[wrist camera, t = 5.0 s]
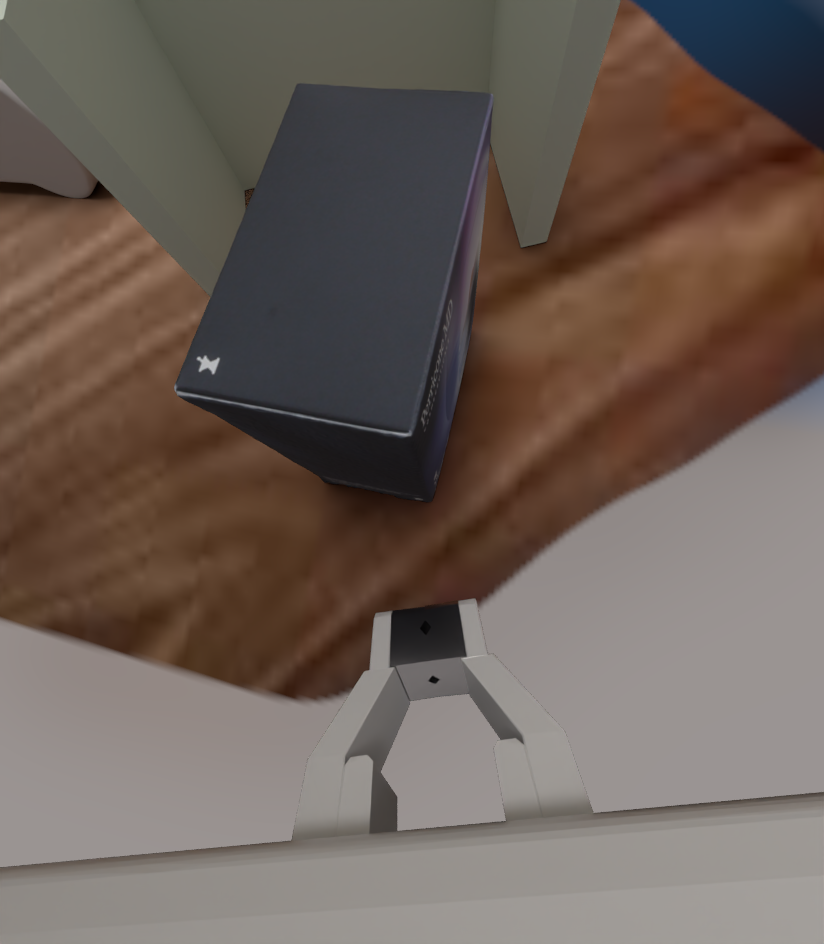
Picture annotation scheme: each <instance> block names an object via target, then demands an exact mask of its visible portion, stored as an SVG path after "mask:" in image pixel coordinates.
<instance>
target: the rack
mask: <svg viewBox="0 0 824 944" xmlns="http://www.w3.org/2000/svg"><path fill="white" fill-rule="evenodd" d="M619 4H620V0H0V79H1V80H2V81H3V82H4V83H5V84H6V85H7V86H8V87H9V88H10V89H11V90H12V91H13V92H14V93H15V94H16V95H17V96H18V97H19V98H20V99H21V100H22V101H23V102H24V104H25V105H26V106H27V107H28V108H29V109H30V110H31V111H32V112H33V113H34V114H35V115H36V116H37V117H38V118H39V119H40V120H41V121H42V122H43V123H44V124H45V125H46V126H47V127H48V128H49V129H50V131H51V132H52V133H53V134H54V135H55V136H56V137H57V138H58V139H59V140H60V141H61V142H62V143H63V144H64V145H65V146H66V147H67V148H68V149H69V150H70V151H71V152H72V153H73V154H74V155H75V157H76V158H77V159H78V160H79V161H80V162H81V163H82V164H83V165H84V166H85V167H86V168H87V169H88V170H89V171H90V172H91V173H92V174H93V175H94V176H95V177H96V178H97V179H98V180H99V181H100V182H101V184H102V185H103V186H104V187H105V188H106V189H107V190H108V191H109V192H110V193H111V194H112V195H113V196H114V197H115V198H116V199H117V200H118V201H119V202H120V203H121V204H122V205H123V206H124V207H125V208H126V210H127V211H128V212H129V213H130V214H131V215H132V216H133V217H134V218H135V219H136V220H137V221H138V222H139V223H140V224H141V225H142V226H143V227H144V228H145V229H146V230H147V231H148V232H149V233H150V234H151V235H152V237H153V238H154V239H155V240H156V241H157V242H158V243H159V244H160V245H161V246H162V247H163V248H164V249H165V250H166V251H167V252H168V253H169V254H170V255H171V256H172V257H173V258H174V259H175V260H176V261H177V262H178V264H179V265H180V266H181V267H182V268H183V269H184V270H185V271H186V272H187V273H188V274H189V275H190V276H191V277H192V278H193V279H194V280H195V281H196V282H197V283H198V284H199V285H200V286H201V287H202V288H203V290H204V291H205V292H206V293H207V294H208V295H209V296H210V297H211V295H212V293H213V290H214V287H215V285H216V282H217V280H218V277H219V275H220V273H221V270H222V268H223V266H224V263H225V261H226V258H227V256H228V253H229V251H230V248H231V246H232V243H233V241H234V238H235V236H236V233H237V230H238V228H239V226H240V223H241V221H242V219H243V216H244V213H245V211H246V208H245V190H248V189H252V188H255V187H256V184H257V182H258V180H259V177H260V175H261V172H262V170H263V167H264V165H265V162H266V160H267V157H268V154H269V152H270V150H271V147H272V145H273V143H274V140H275V137H276V135H277V132H278V130H279V127H280V125H281V122H282V120H283V117H284V114H285V112H286V109H287V107H288V105H289V102H290V100H291V97H292V94H293V92H294V90H295V87H296V85H297V84H299V83H305V84H322V85H335V86H351V87H365V88H381V89H411V90H415V89H424V90H446V91H469V92H485V93H491V94H493V97H494V102H493V111H492V123H491V139H490V144H491V148H492V151H493V155H494V158H495V161H496V165H497V168H498V172H499V175H500V178H501V182H502V185H503V189H504V192H505V195H506V199H507V202H508V206H509V209H510V212H511V216H512V219H513V222H514V226H515V229H516V233H517V236H518V239H519V243H520V246H521V248H522V247H526V246H530V245H535V244H539V243H543V242H547V238H548V235H549V232H550V229H551V225H552V222H553V219H554V216H555V212H556V209H557V206H558V203H559V199H560V196H561V193H562V190H563V186H564V183H565V180H566V176H567V173H568V170H569V167H570V163H571V160H572V157H573V154H574V150H575V147H576V144H577V141H578V137H579V134H580V131H581V128H582V124H583V121H584V118H585V115H586V111H587V108H588V105H589V101H590V98H591V95H592V92H593V88H594V85H595V82H596V79H597V75H598V72H599V69H600V66H601V62H602V59H603V56H604V53H605V49H606V46H607V43H608V39H609V36H610V33H611V30H612V26H613V23H614V20H615V17H616V13H617V10H618V7H619Z"/></svg>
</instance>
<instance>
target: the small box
mask: <svg viewBox="0 0 824 944" xmlns="http://www.w3.org/2000/svg"><path fill="white" fill-rule="evenodd" d="M493 102H494V97H493V94H491V93H485V92H469V91H446V90H424V89H415V90H411V89H381V88H365V87H351V86H335V85H322V84H305V83H299V84H297V85H296V87H295V90H294V92H293V94H292V97H291V100H290V102H289V105H288V107H287V109H286V112H285V114H284V117H283V120H282V122H281V125H280V127H279V130H278V132H277V135H276V137H275V140H274V143H273V145H272V147H271V150H270V152H269V154H268V157H267V160H266V162H265V165H264V167H263V170H262V172H261V175H260V177H259V180H258V182H257V184H256V187H255V189H254V192H253V194H252V196H251V198H250V201H249V204H248V206H247V208H246V211H245V213H244V216H243V219H242V221H241V223H240V226H239V228H238V230H237V233H236V236H235V238H234V241H233V243H232V246H231V248H230V251H229V253H228V256H227V258H226V261H225V263H224V266H223V268H222V270H221V273H220V275H219V277H218V280H217V282H216V285H215V287H214V290H213V293H212V295H211V298H210V300H209V302H208V305H207V307H206V310H205V312H204V315H203V317H202V319H201V322H200V324H199V327H198V330H197V332H196V334H195V336H194V339H193V341H192V344H191V346H190V349H189V351H188V354H187V356H186V359H185V361H184V363H183V366H182V368H181V371H180V374H179V376H178V378H177V381H176V383H175V387H174V389H175V392H176V393H177V395H178V396H179V397H181V398H182V399H184V400H185V401H187V402H189V403H192V404H194V405H196V406H198V407H200V408H202V409H204V410H206V411H208V412H211V413H213V414H215V415H217V416H218V417H220V418H221V419H223V420H225V421H227V422H228V423H230V424H231V425H233V426H235V427H237V428H238V429H240V430H242V431H243V432H245V433H247V434H248V435H250V436H252V437H253V438H254V439H256V440H258V441H260V442H262V443H263V444H265V445H267V446H268V447H270V448H272V449H274V450H276V451H277V452H279V453H280V454H282V455H283V456H285V457H287V458H288V459H290V460H292V461H293V462H295V463H297V464H299V465H300V466H302V467H304V468H306V469H307V470H309V471H311V472H313V473H314V474H316V475H318V476H319V477H320V478H321V479H322V480H323V481H324V482H325V483H328V482H329V483H331V484H344V485H346V486H348V487H351V486H352V487H354V488H363V489H365V490H371V491H376V492H379V493H384V494H389V495H394V496H395V497H397V498H402V499H408V500H419V501H424V502H431V501H432V499H433V497H434V493H435V490H436V486H437V482H438V478H439V475H440V471H441V467H442V463H443V458H444V454H445V450H446V445H447V441H448V438H449V433H450V428H451V424H452V420H453V415H454V411H455V407H456V403H457V398H458V394H459V389H460V384H461V380H462V375H463V370H464V365H465V360H466V356H467V351H468V346H469V341H470V335H471V329H472V322H473V314H474V305H475V296H476V287H477V278H478V268H479V258H480V248H481V239H482V230H483V220H484V209H485V198H486V187H487V175H488V163H489V150H490V139H491V123H492V111H493Z"/></svg>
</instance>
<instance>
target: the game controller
mask: <svg viewBox="0 0 824 944" xmlns="http://www.w3.org/2000/svg"><path fill="white" fill-rule="evenodd" d="M0 182H16V183H29V184H35V185H37V186H39V187H42V188H44V189H46V190H49V191H51V192H54V193H56V194H59V195H63V196H66V197H71V198H85V197H88V196H89V195H91V193H92V192H93V190H94V188H95V186H96V184H97V182H98V179H97V178H96V177H95V176H94V175H93V174H92V173H91V172H90V171H89V170H88V169H87V168H86V167H85V166H84V165H83V164H82V163H81V162H80V161H79V160H78V159H77V158H76V157H75V155H74V154H73V153H72V152H71V151H70V150H69V149H68V148H67V147H66V146H65V145H64V144H63V143H62V142H61V141H60V140H59V139H58V138H57V137H56V136H55V135H54V134H53V133H52V132H51V131H50V129H49V128H48V127H47V126H46V125H45V124H44V123H43V122H42V121H41V120H40V119H39V118H38V117H37V116H36V115H35V114H34V113H33V112H32V111H31V110H30V109H29V108H28V107H27V106H26V105H25V104H24V102H23V101H22V100H21V99H20V98H19V97H18V96H17V95H16V94H15V93H14V92H13V91H12V90H11V89H10V88H9V87H8V86H7V85H6V84H5V83H4V82H3V81H2V80H1V79H0Z"/></svg>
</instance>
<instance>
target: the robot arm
mask: <svg viewBox="0 0 824 944" xmlns="http://www.w3.org/2000/svg"><path fill="white" fill-rule="evenodd" d="M458 603H459V604H458ZM461 694H470V696H471V698H472V699H473V701H474V702H475V703H476V705H477V706H478V708H479V709H480V710H481V712H482V713H483V715H484V716H485V718H486V719H487V720H488V722H489V723H490V725H491V726H492V728H493V729H494V731H495V732H496V733H497V735H498V736H499V738H500V739H501V740H498V741H497V742H496V744H495V746H494V754H495V760H496V765H497V771H498V777H499V783H500V789H501V794H502V800H503V806H504V811H505V817H506V821H504V822H503V821H502V822H492V823H480V824H469V825H458V826H447V827H436V828H426V829H415V830H404V831H397V796H396V795H395V793H394V792H393V790H392V789H391V787H390V786H389V784H388V783H387V781H386V780H385V778H384V777H383V775H382V774H381V770H382V767H383V765H384V763H385V760H386V758H387V755H388V753H389V751H390V749H391V746H392V744H393V742H394V739H395V737H396V735H397V733H398V730H399V728H400V726H401V724H402V721H403V719H404V716H405V714H406V712H407V710H408V707H409V705H410V702H409V701H414V700H420V699H427V698H434V697H440V696H451V695H461ZM0 944H824V792H819V793H809V794H798V795H786V796H775V797H765V798H754V799H744V800H732V801H721V802H711V803H699V804H689V805H677V806H666V807H656V808H645V809H633V810H623V811H612V812H601V813H593V810H592V807H591V805H590V802H589V799H588V796H587V793H586V790H585V787H584V784H583V781H582V779H581V776H580V773H579V770H578V767H577V764H576V761H575V759H574V756H573V753H572V750H571V747H570V744H569V741H568V739H567V735H566V733H565V731H564V730H563V729H562V727H561V726H560V725H559V724H558V723H557V722H556V721H555V720H554V719H553V718H552V717H551V716H550V714H549V713H548V712H547V711H546V710H545V709H544V708H543V707H542V706H541V705H540V704H539V702H537V700H535V698H534V697H533V696H532V695H531V694H530V693H529V692H528V691H527V689H526V688H525V687H524V686H523V685H522V684H521V683H520V682H519V681H518V680H517V679H516V678H515V676H514V675H513V674H512V673H511V672H510V671H509V670H508V669H507V668H506V667H505V666H504V665H503V664H502V662H501V661H500V660H499V659H498V658H497V657H496V656H495V655H494V654H488V652H487V647H486V643H485V638H484V633H483V629H482V624H481V620H480V615H479V610H478V606H477V602H476V599H475V598H473V599H467V600H461V601H458V600H457V601H451V602H445V603H440V604H434V605H428V606H425V607H418V608H410V609H403V610H395V611H387V612H380V613H376V614H375V617H374V623H373V634H372V646H371V657H370V669H369V670H368V671H364V672H363V674H362V676H361V677H360V679H359V680H358V682H357V683H356V685H355V686H354V688H353V690H352V691H351V693H350V694H349V696H348V697H347V699H346V700H345V702H344V704H343V705H342V707H341V708H340V710H339V712H338V713H337V714H336V716H335V718H334V719H333V721H332V722H331V724H330V725H329V727H328V729H327V730H326V732H325V733H324V735H323V736H322V738H321V740H320V741H319V743H318V744H317V746H316V747H315V749H314V750H313V752H312V754H311V755H310V757H309V758H308V761H307V766H306V770H305V775H304V780H303V785H302V790H301V795H300V800H299V805H298V810H297V815H296V820H295V825H294V830H293V836H292V840H291V841H283V842H272V843H262V844H250V845H240V846H229V847H218V848H207V849H196V850H185V851H175V852H165V853H164V852H163V853H153V854H142V855H130V856H120V857H108V858H97V859H87V860H77V861H66V862H55V863H43V864H32V865H21V866H11V867H0Z"/></svg>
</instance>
